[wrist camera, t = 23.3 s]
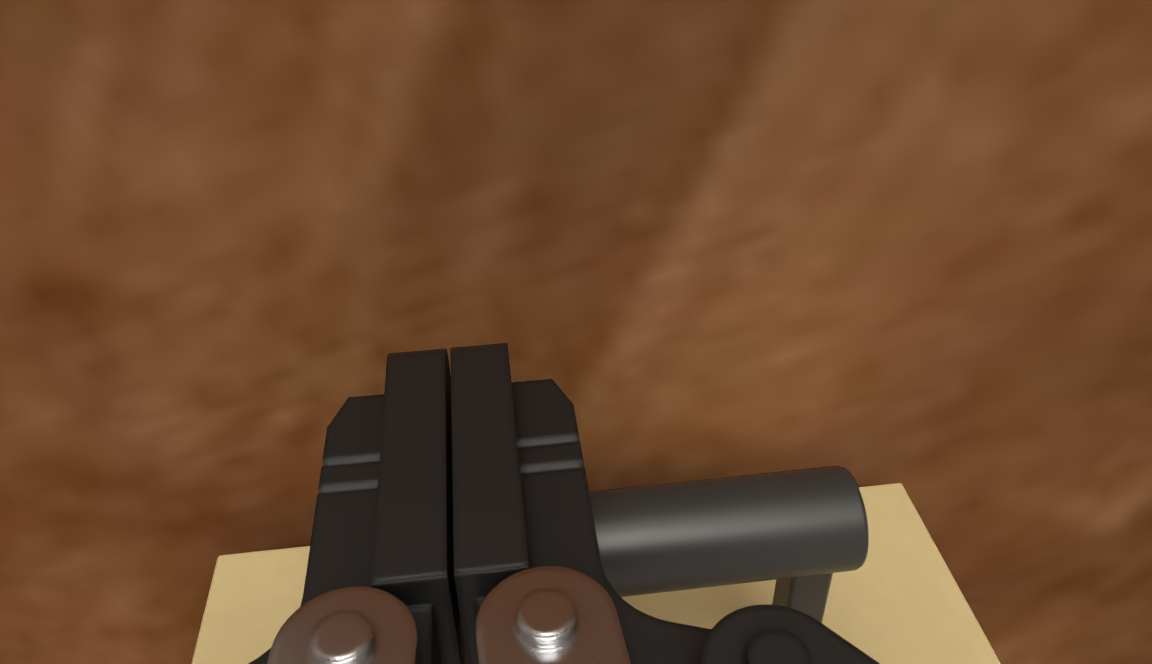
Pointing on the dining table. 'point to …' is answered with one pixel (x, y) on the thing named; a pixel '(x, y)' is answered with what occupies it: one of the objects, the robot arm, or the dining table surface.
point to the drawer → (706, 566)
